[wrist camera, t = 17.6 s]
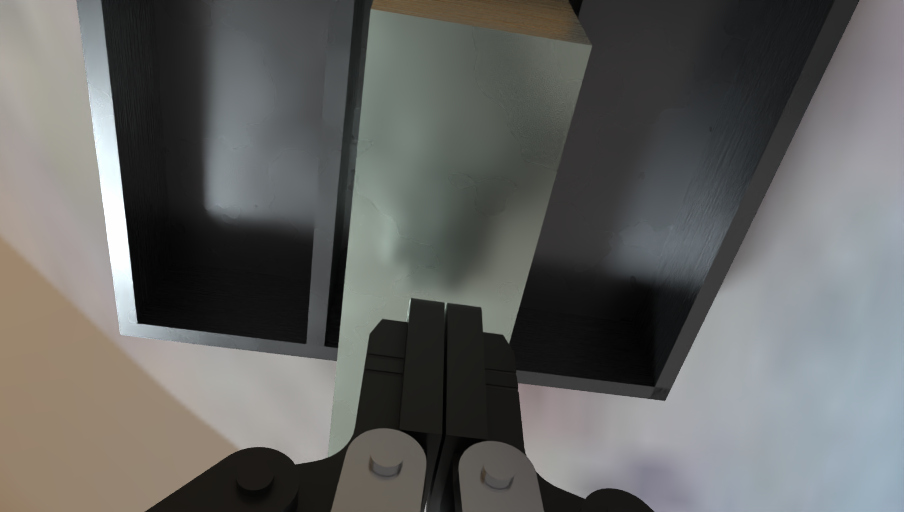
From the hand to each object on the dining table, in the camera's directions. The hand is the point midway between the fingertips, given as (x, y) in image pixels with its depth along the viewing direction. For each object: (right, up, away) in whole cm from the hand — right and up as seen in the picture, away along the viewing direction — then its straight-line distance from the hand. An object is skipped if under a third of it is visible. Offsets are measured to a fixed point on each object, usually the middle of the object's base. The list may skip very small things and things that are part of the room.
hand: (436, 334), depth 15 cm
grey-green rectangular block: (0, +6, +8) cm, 10 cm away
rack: (0, +6, +9) cm, 11 cm away
